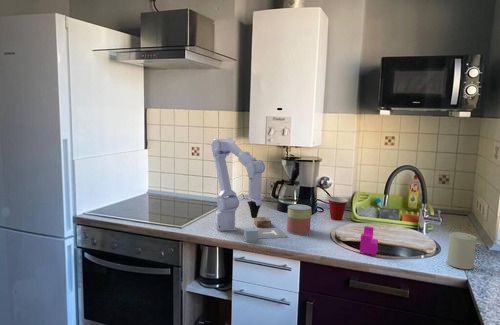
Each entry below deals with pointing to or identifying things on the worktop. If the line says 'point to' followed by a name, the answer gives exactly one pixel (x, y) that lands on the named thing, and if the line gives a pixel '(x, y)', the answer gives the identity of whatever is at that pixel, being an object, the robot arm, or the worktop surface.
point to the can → (461, 250)
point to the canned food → (299, 219)
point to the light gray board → (270, 233)
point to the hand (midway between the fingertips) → (254, 217)
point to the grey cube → (250, 234)
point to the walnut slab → (262, 222)
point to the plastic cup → (337, 207)
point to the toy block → (368, 241)
